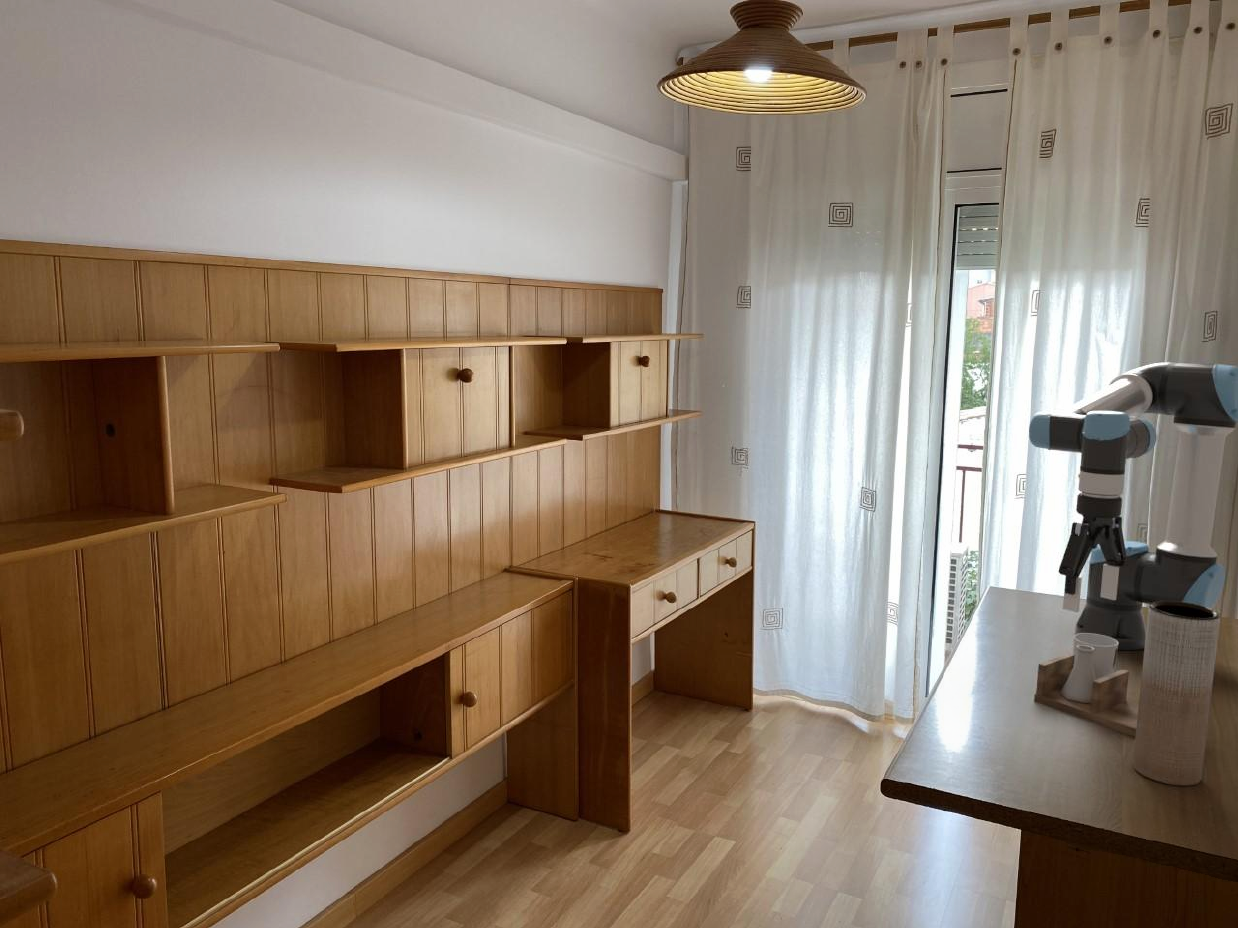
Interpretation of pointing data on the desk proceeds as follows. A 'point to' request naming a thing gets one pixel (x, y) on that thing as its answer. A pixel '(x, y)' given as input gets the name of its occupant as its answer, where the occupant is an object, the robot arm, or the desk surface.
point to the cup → (1098, 652)
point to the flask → (1081, 676)
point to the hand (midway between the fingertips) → (1089, 604)
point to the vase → (1175, 692)
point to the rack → (1105, 696)
